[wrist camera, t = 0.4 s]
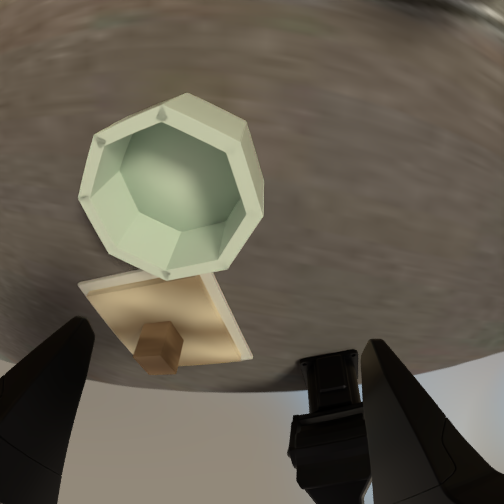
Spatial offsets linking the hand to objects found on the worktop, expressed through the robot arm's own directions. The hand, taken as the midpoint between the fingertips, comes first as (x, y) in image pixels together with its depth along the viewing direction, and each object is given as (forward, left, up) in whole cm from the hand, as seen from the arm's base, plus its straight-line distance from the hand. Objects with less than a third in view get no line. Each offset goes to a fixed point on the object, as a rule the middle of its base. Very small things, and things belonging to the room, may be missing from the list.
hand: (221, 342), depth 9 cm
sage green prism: (+1, +4, -13) cm, 14 cm away
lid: (-13, +12, -13) cm, 22 cm away
